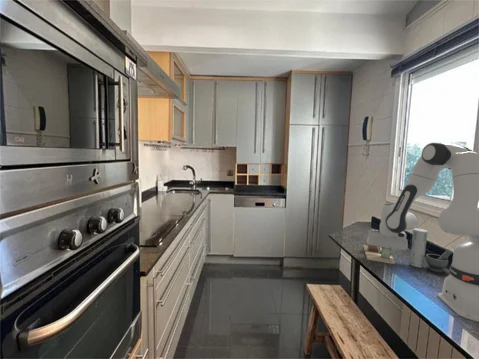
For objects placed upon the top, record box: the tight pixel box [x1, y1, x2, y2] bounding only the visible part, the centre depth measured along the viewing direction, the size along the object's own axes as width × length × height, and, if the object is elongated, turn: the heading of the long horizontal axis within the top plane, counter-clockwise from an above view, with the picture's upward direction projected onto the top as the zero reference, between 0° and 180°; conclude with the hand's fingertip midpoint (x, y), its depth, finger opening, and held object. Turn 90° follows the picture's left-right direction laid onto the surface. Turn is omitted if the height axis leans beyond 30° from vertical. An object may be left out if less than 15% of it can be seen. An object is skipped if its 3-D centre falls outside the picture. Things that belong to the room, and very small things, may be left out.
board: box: [363, 245, 396, 265], centre depth 157 cm, size 22×14×1 cm, turn 159°
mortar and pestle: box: [425, 248, 453, 273], centre depth 139 cm, size 11×9×12 cm
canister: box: [381, 247, 392, 259], centre depth 150 cm, size 5×5×6 cm
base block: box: [367, 243, 381, 252], centre depth 161 cm, size 6×6×5 cm
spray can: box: [409, 227, 429, 268], centre depth 144 cm, size 6×6×20 cm
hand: (385, 254), depth 150 cm, fingers closed on canister, 5 cm apart
